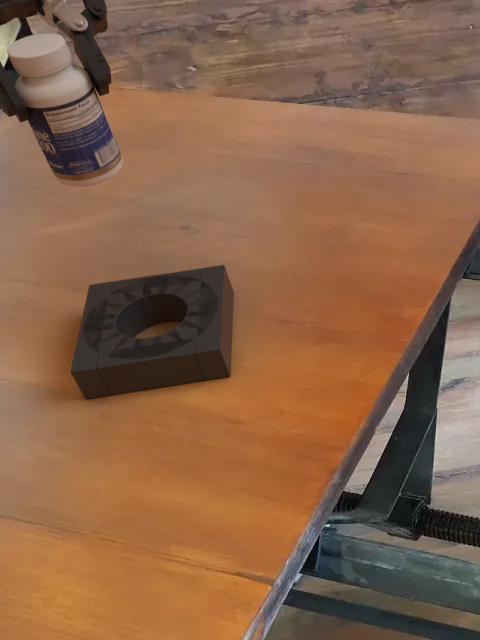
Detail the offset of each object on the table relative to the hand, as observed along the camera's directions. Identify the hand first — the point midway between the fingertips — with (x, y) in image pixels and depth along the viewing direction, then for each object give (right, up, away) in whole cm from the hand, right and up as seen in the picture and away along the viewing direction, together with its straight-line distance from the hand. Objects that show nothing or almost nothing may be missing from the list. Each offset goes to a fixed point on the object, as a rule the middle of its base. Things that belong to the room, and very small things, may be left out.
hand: (64, 102), depth 65 cm
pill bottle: (-1, -3, +6) cm, 7 cm away
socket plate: (+2, -15, +13) cm, 20 cm away
